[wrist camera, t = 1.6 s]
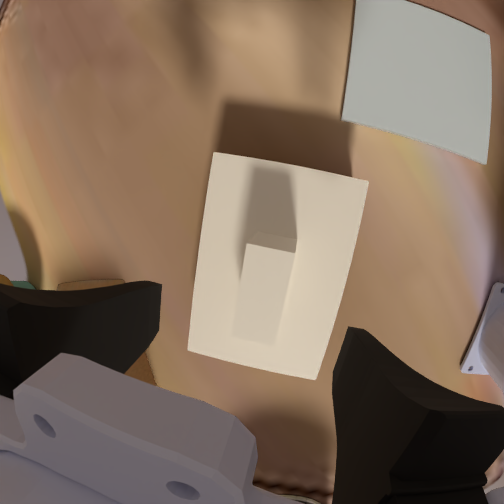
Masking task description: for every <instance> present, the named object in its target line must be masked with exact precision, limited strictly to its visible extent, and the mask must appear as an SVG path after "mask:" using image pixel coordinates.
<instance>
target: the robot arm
mask: <svg viewBox="0 0 504 504" xmlns="http://www.w3.org/2000/svg"><path fill="white" fill-rule="evenodd" d="M502 288H503V290H502V291H501V289H502ZM161 291H162V284H159V283H155V282H151V281H136V282H129V283H123V284H118V285H112V286H106V287H99V288H92V289H84V290H68V291H54V290H35V289H27V288H20V287H14V286H10V285H5V284H1V283H0V504H304V503H301V502H298V501H295V500H292V499H289V498H286V497H283V496H280V495H277V494H274V493H272V492H269V491H266V490H264V489H261V488H259V487H256V486H254V485H253V484H252V482H253V477H254V473H255V468H256V464H257V460H258V453H257V445H256V437H255V436H254V435H253V434H252V433H251V432H250V431H249V430H248V429H247V428H246V427H245V426H244V425H243V424H242V422H241V421H240V420H239V419H238V418H237V417H236V416H234V415H232V414H230V413H227V412H225V411H223V410H221V409H219V408H217V407H215V406H212V405H210V404H208V403H206V402H204V401H201V400H198V399H194V398H191V397H188V396H184V395H181V394H178V393H175V392H172V391H169V390H166V389H163V388H160V387H157V386H154V385H151V384H149V383H146V382H143V381H140V380H138V379H135V378H132V377H130V376H127V375H124V374H125V373H126V372H127V370H128V369H129V368H130V367H131V366H132V365H133V364H134V363H135V362H136V361H137V359H138V358H139V357H140V356H141V355H142V354H143V353H144V352H145V350H146V349H147V348H148V347H149V345H150V344H151V342H152V341H153V339H154V338H155V336H156V334H157V333H158V331H159V322H160V305H161ZM470 366H471V367H470ZM469 367H470V368H469ZM468 368H469V369H468ZM460 370H461V371H462V373H470V374H485V375H490V376H491V377H492V379H493V380H494V381H495V383H496V384H497V385H498V387H499V388H500V389H501V391H502V392H503V393H504V283H501V282H496V283H495V284H494V285H493V287H492V290H491V293H490V296H489V299H488V302H487V304H486V307H485V310H484V313H483V315H482V318H481V320H480V323H479V325H478V328H477V330H476V333H475V335H474V337H473V340H472V342H471V344H470V347H469V349H468V351H467V353H466V355H465V358H464V360H463V362H462V364H461V366H460ZM332 396H333V406H334V415H335V425H336V435H337V459H336V473H335V483H334V492H333V500H332V504H504V487H501V488H496V489H494V490H491V491H490V492H488V493H487V494H485V493H484V490H483V488H482V486H485V484H486V483H487V478H486V475H485V472H486V470H487V469H488V468H489V467H490V466H491V465H492V463H493V462H494V461H495V460H496V458H497V457H498V456H499V455H500V453H501V452H502V451H503V449H504V408H503V407H502V406H500V405H495V404H491V403H487V402H483V401H479V400H475V399H472V398H469V397H466V396H464V395H461V394H458V393H456V392H453V391H451V390H449V389H447V388H445V387H442V386H440V385H438V384H436V383H434V382H433V381H431V380H429V379H427V378H426V377H424V376H423V375H421V374H419V373H418V372H416V371H415V370H413V369H412V368H410V367H409V366H408V365H406V364H405V363H404V362H403V361H401V360H400V359H399V358H398V357H396V356H395V355H394V354H393V353H392V352H390V351H389V350H388V349H387V348H386V347H385V346H384V345H383V344H381V343H380V342H379V341H378V340H377V339H376V338H375V337H374V336H372V335H371V334H370V333H369V332H367V331H366V330H364V329H360V328H354V327H349V326H348V329H347V332H346V335H345V338H344V341H343V344H342V347H341V350H340V353H339V356H338V359H337V362H336V364H335V367H334V370H333V381H332Z"/></svg>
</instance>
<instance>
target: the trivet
mask: <svg viewBox="0 0 504 504" xmlns="http://www.w3.org/2000/svg"><path fill="white" fill-rule="evenodd" d="M491 98H492V72H491V49H490V36H489V35H487V34H485V33H484V32H482V31H480V30H477V29H475V28H473V27H471V26H469V25H467V24H465V23H463V22H460V21H458V20H456V19H453V18H451V17H449V16H446V15H444V14H441V13H439V12H436V11H434V10H431V9H428V8H426V7H423V6H420V5H417V4H414V3H411V2H408V1H405V0H356V3H355V14H354V24H353V34H352V43H351V52H350V60H349V68H348V75H347V83H346V90H345V97H344V104H343V110H342V117H341V121H345V122H350V123H354V124H358V125H362V126H366V127H370V128H374V129H378V130H382V131H385V132H389V133H392V134H396V135H399V136H403V137H406V138H409V139H413V140H416V141H419V142H422V143H425V144H428V145H431V146H434V147H437V148H440V149H443V150H446V151H449V152H452V153H454V154H457V155H460V156H462V157H465V158H468V159H470V160H473V161H475V162H478V163H480V164H483V165H486V163H487V155H488V146H489V135H490V122H491Z"/></svg>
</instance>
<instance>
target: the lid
mask: <svg viewBox="0 0 504 504" xmlns="http://www.w3.org/2000/svg"><path fill="white" fill-rule="evenodd" d="M368 184H369V181H365V180H361V179H356V178H352V177H348V176H343V175H339V174H335V173H330V172H325V171H321V170H316V169H311V168H306V167H301V166H296V165H291V164H285V163H280V162H274V161H268V160H263V159H257V158H251V157H244V156H238V155H231V154H224V153H217V152H214V153H213V159H212V165H211V171H210V177H209V183H208V190H207V196H206V203H205V210H204V216H203V223H202V230H201V238H200V245H199V253H198V260H197V268H196V276H195V285H194V293H193V302H192V311H191V321H190V331H189V341H188V351H192V352H195V353H199V354H203V355H206V356H210V357H214V358H217V359H221V360H225V361H229V362H233V363H237V364H241V365H245V366H249V367H254V368H258V369H262V370H267V371H272V372H276V373H281V374H286V375H291V376H296V377H301V378H306V379H312V380H316V378H317V375H318V372H319V369H320V366H321V363H322V360H323V357H324V354H325V351H326V348H327V345H328V342H329V338H330V335H331V332H332V329H333V326H334V322H335V319H336V315H337V312H338V309H339V305H340V302H341V298H342V295H343V291H344V287H345V284H346V280H347V276H348V272H349V268H350V265H351V261H352V257H353V253H354V248H355V244H356V240H357V236H358V231H359V227H360V223H361V218H362V213H363V209H364V204H365V199H366V194H367V189H368Z"/></svg>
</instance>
